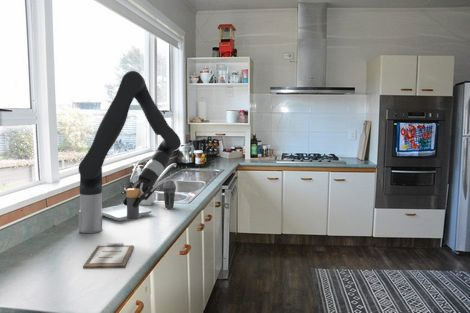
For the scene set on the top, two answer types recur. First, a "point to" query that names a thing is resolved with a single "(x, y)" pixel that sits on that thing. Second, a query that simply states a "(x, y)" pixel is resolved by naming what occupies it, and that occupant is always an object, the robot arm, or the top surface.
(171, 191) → the beverage cup
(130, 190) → the orange-capped grey cylinder
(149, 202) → the milk carton
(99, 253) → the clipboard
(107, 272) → the top surface
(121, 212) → the salad plate
